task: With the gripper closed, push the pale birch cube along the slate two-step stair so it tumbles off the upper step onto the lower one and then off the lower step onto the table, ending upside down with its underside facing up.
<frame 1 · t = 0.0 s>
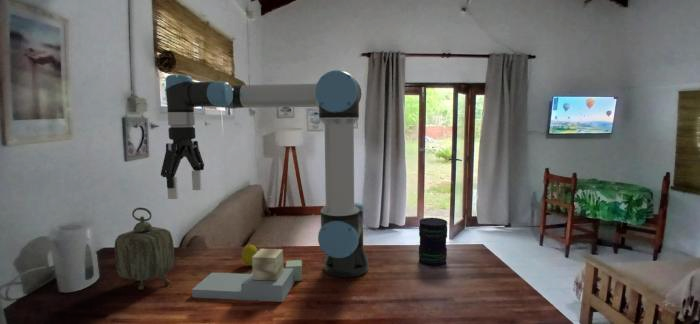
hand: (185, 194, 117), 28 cm above the table, tool pointing down, fingers open, 13 cm apart
lemon: (250, 266, 130), on the table
birch cube: (268, 275, 110), point 5 cm above the table, touching stair
sage cube: (294, 278, 120), on the table
tabletop clock: (146, 287, 114), on the table
storage jar: (432, 262, 133), on the table
stair: (250, 290, 112), on the table
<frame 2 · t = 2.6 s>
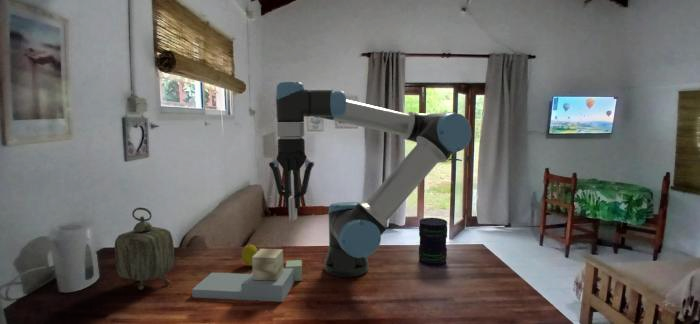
hand: (293, 218, 107), 22 cm above the table, tool pointing down, fingers closed
nothing on the table moved.
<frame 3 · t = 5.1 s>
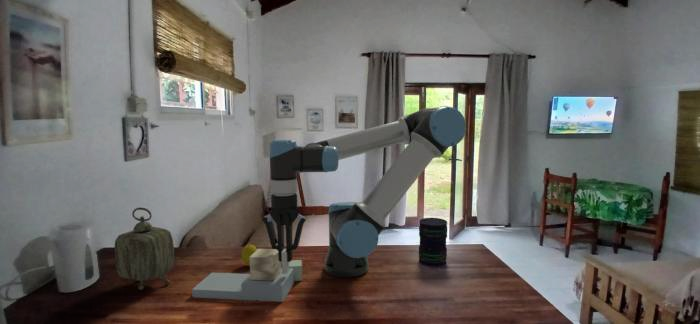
hand: (285, 271, 109), 6 cm above the table, tool pointing down, fingers closed
birch cube: (266, 275, 110), point 5 cm above the table, touching gripper
everything else where it was.
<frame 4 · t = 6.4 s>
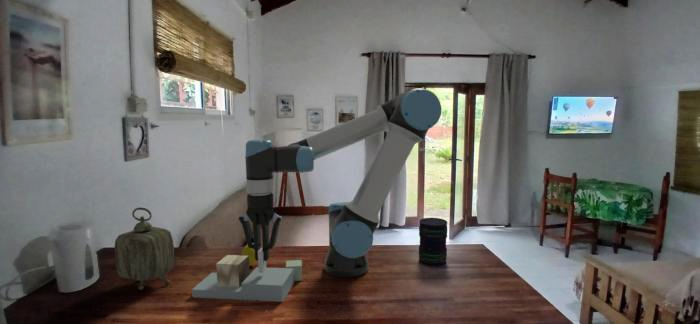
hand: (262, 270, 110), 6 cm above the table, tool pointing down, fingers closed
birch cube: (244, 271, 111), point 6 cm above the table, tilted 90°, touching stair
everything else where it was.
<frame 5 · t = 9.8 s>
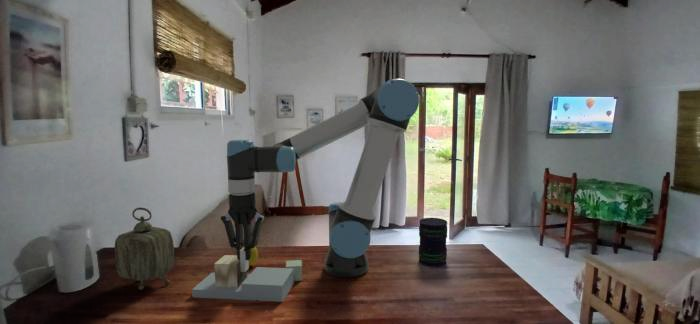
hand: (244, 269, 111), 6 cm above the table, tool pointing down, fingers closed
birch cube: (242, 271, 111), point 6 cm above the table, tilted 90°, touching gripper
everything else where it was.
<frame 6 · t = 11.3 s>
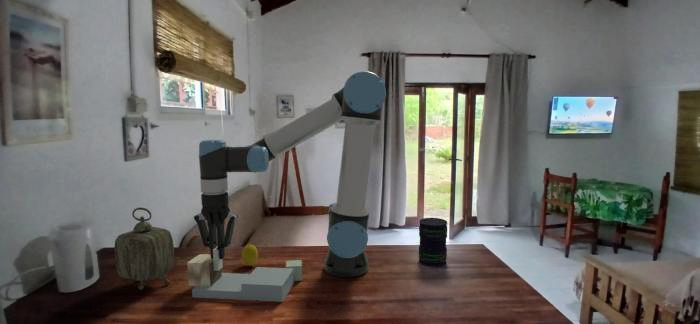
hand: (218, 268, 112), 6 cm above the table, tool pointing down, fingers closed
birch cube: (216, 270, 112), point 6 cm above the table, tilted 90°, touching gripper
everything else where it was.
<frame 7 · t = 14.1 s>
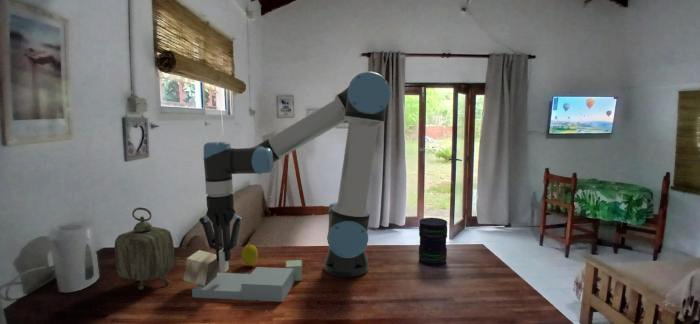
hand: (224, 270, 112), 6 cm above the table, tool pointing down, fingers closed
birch cube: (213, 270, 112), point 6 cm above the table, tilted 77°, touching stair
everything else where it was.
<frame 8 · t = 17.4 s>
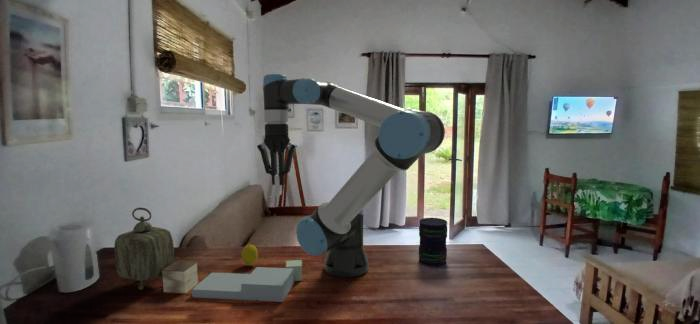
hand: (278, 194, 123), 26 cm above the table, tool pointing down, fingers closed
birch cube: (179, 265, 113), point 7 cm above the table, tilted 180°
everything else where it was.
at the end: birch cube tilted 180°; birch cube inside the target area (0.3 cm from its centre), point 6.9 cm above the table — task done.
